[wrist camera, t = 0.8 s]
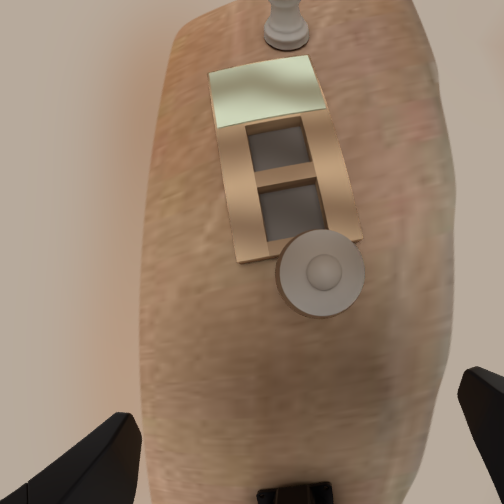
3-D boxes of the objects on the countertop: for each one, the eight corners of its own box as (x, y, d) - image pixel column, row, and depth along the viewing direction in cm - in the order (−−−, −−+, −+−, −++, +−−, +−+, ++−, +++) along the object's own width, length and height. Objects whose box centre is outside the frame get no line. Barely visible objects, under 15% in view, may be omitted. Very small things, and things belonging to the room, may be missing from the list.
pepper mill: (331, 297, 23) (385, 313, 10) (286, 306, 24) (282, 334, 10) (322, 252, 24) (366, 209, 10) (278, 261, 24) (263, 228, 10)
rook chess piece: (259, 50, 26) (250, -10, 18) (268, 21, 27) (261, -36, 19) (306, 55, 26) (307, -5, 18) (311, 26, 26) (313, -31, 18)
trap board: (357, 242, 24) (363, 237, 21) (241, 264, 24) (236, 262, 22) (308, 67, 26) (309, 52, 23) (211, 85, 26) (206, 71, 24)
